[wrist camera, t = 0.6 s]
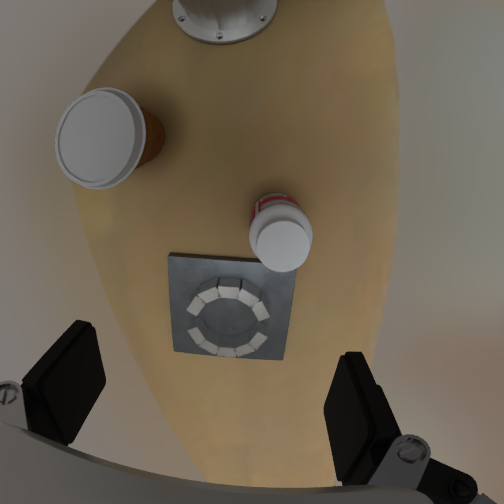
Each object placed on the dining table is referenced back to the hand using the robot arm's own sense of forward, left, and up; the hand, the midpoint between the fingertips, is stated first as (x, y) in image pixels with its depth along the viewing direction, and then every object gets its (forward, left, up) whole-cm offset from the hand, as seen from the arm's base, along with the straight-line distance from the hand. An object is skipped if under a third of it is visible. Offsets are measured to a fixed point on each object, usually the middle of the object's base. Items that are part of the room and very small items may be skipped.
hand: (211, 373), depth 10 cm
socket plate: (+14, -1, -27) cm, 31 cm away
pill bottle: (+1, +4, -28) cm, 28 cm away
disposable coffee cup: (-8, -13, -28) cm, 32 cm away
